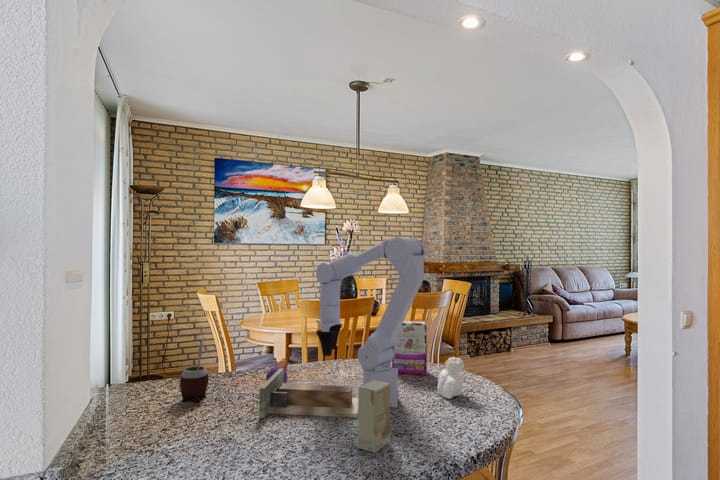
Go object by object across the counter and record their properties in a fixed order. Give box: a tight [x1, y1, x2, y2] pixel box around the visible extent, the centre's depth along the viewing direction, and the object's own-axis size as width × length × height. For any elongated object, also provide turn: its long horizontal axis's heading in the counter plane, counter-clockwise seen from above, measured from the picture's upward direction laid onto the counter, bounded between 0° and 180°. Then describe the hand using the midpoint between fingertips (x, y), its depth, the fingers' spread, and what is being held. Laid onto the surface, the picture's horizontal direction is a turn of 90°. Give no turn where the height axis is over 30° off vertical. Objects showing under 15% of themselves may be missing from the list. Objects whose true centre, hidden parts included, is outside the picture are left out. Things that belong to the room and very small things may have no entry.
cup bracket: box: [258, 369, 358, 419], centre depth 105 cm, size 23×16×7 cm
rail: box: [279, 383, 353, 408], centre depth 105 cm, size 18×4×4 cm, turn 84°
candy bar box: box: [391, 320, 428, 376], centre depth 135 cm, size 11×5×16 cm, turn 81°
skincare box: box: [357, 380, 391, 453], centre depth 85 cm, size 6×4×12 cm
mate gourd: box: [179, 337, 210, 404], centre depth 110 cm, size 8×8×15 cm
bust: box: [436, 356, 465, 400], centre depth 115 cm, size 12×8×11 cm
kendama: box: [265, 359, 288, 383], centre depth 127 cm, size 6×6×20 cm
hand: (329, 352), depth 119 cm, fingers open, 7 cm apart
